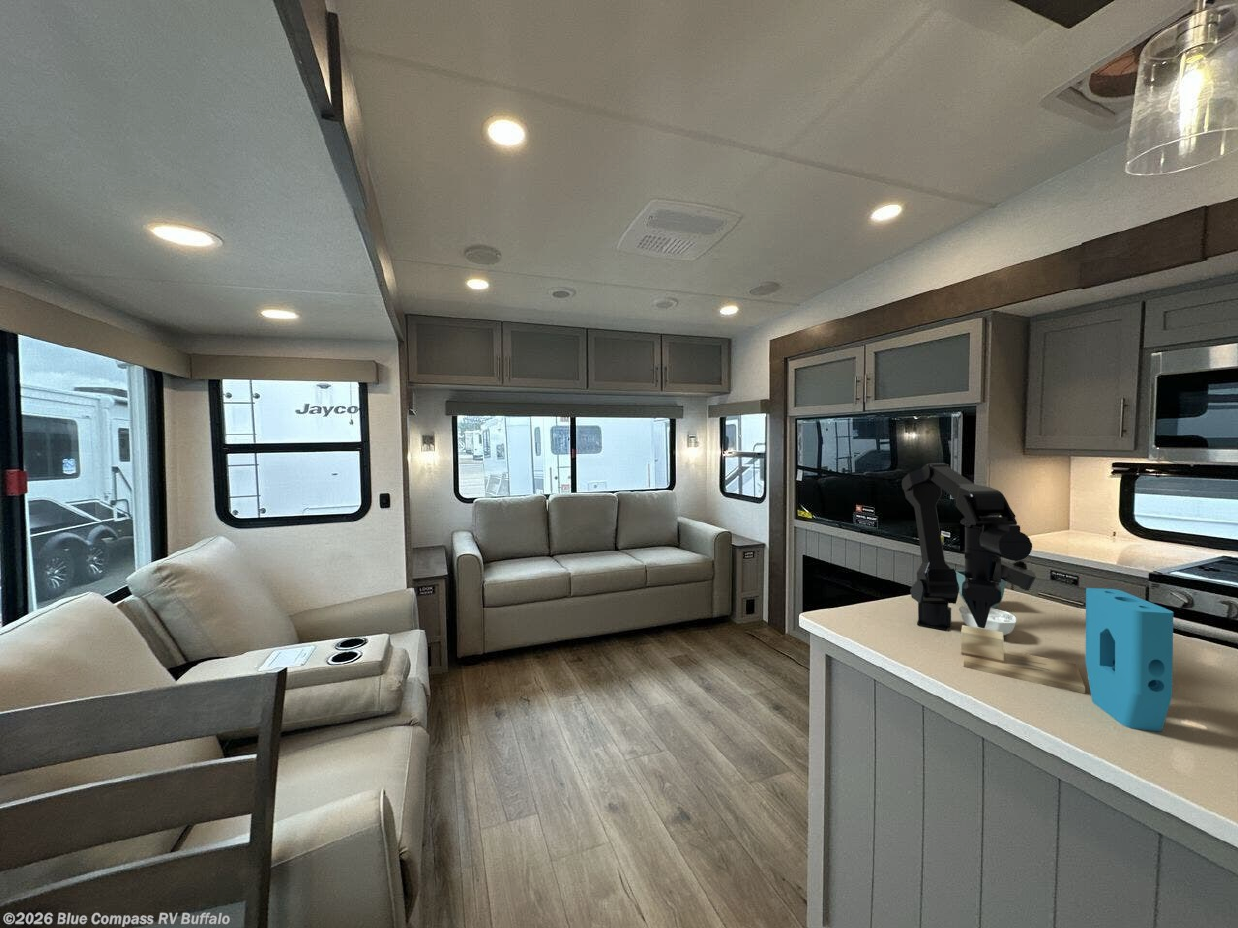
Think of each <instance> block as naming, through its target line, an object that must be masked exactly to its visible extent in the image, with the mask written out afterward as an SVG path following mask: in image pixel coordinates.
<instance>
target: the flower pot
mask: <svg viewBox="0 0 1238 928" xmlns="http://www.w3.org/2000/svg"><path fill="white" fill-rule="evenodd" d="M955 571H956V576H957V582H958V584H959V588H960V589H959V593H958V595H959V596H960V598H961V599H962V600H963V602H964V603H965V604H966V602H965V600H964V598H963V596H962V583H963V582H964V581H965V570H955ZM999 586H1000V587H1001V601H1003V597H1004V595H1005V594H1004V593H1005V588H1006V581H1004V580H1002V579H1001V583H999ZM998 606H999V604H995V605H993V606H991V608H994V609H996V607H998Z"/></svg>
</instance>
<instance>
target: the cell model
mask: <svg viewBox="0 0 1238 928" xmlns="http://www.w3.org/2000/svg"><path fill="white" fill-rule="evenodd" d="M958 611H959V612H960V614H961V619H962V621H963V622H964V624H966V625H965V626H970V627H976V628H979V627H978V626H977V624H976V622H975V620H974V618H973V616H972V613H971V611H970V609H969V607H968V606H967V604H966V605H961V606H960V607H959V608H958ZM1017 621H1018V620H1017V617H1016V616H1015V615H1014V614H1013V613H1011V612H1008V611H1006V610H1001V609H997V608H990V611H989V615H988V618H987V622H986V625H985V628H981V629H987V630H993V631H998V632H1003V636H1006V635H1007V636H1008V634H1010V633H1012V632H1013V630H1014V629H1015V627H1016V626H1015V625H1016V623H1017Z"/></svg>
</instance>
